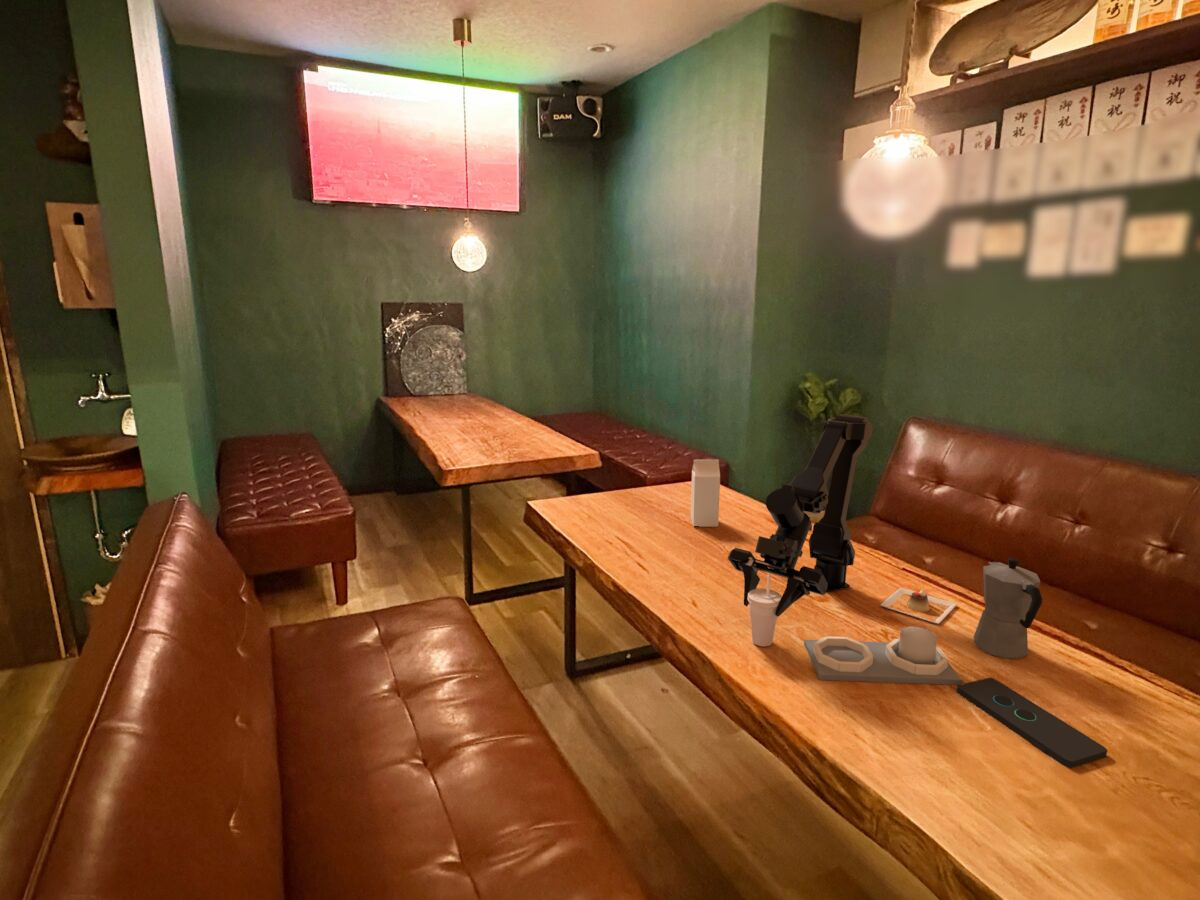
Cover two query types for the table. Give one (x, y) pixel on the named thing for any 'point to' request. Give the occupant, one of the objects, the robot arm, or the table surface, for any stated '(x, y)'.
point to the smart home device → (1032, 723)
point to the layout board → (883, 659)
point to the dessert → (918, 603)
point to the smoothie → (763, 613)
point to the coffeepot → (1007, 609)
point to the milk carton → (705, 493)
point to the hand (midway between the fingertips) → (760, 610)
